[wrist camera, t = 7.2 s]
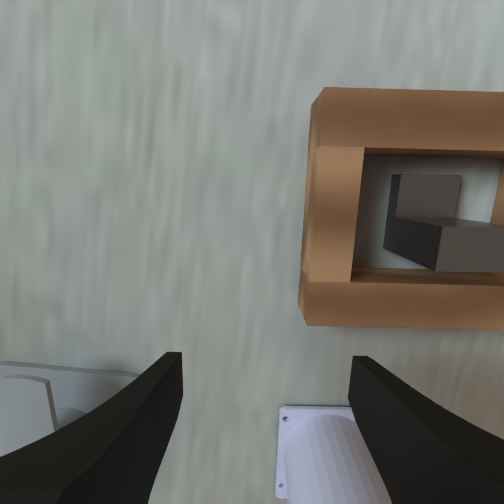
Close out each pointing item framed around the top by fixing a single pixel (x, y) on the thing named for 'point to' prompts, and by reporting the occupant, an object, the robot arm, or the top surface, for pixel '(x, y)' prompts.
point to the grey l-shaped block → (439, 227)
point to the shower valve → (49, 398)
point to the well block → (347, 199)
